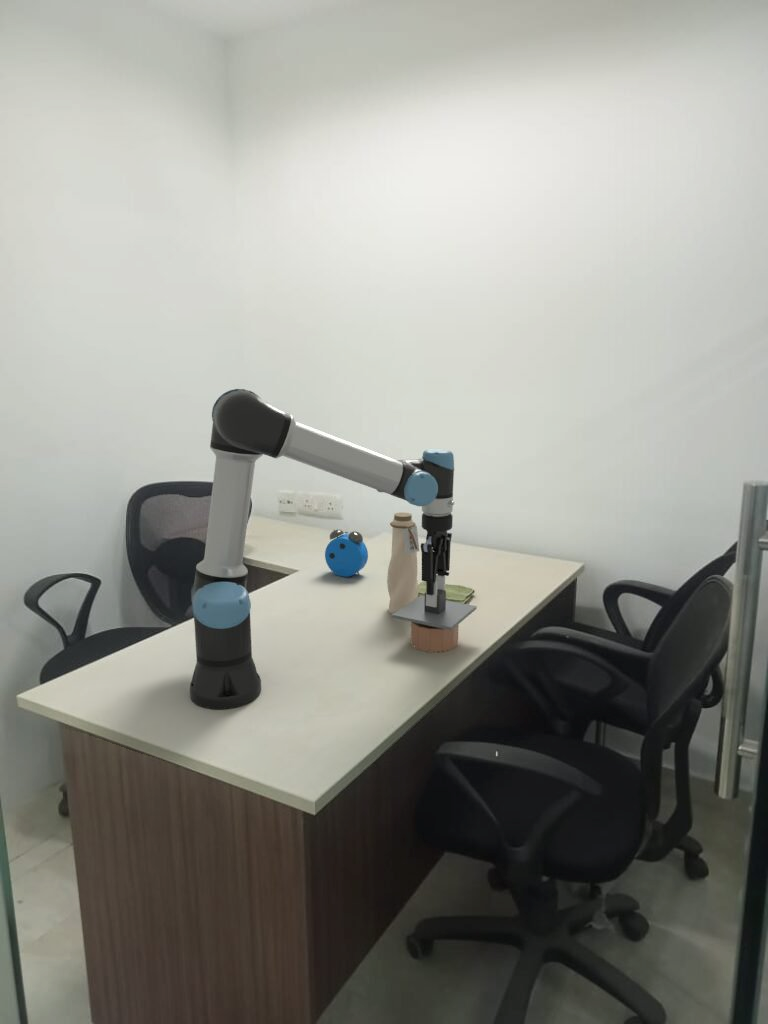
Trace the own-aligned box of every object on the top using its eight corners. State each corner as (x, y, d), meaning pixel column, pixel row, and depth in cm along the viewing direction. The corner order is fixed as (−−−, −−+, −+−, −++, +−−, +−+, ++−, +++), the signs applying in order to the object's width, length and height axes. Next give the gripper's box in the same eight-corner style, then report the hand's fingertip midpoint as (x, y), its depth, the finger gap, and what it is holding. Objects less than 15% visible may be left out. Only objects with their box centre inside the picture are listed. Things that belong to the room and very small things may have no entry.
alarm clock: (368, 574, 237) (368, 530, 233) (360, 580, 231) (360, 535, 228) (332, 569, 241) (332, 526, 238) (324, 575, 236) (323, 530, 232)
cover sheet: (451, 630, 172) (451, 607, 170) (392, 617, 179) (392, 595, 178) (476, 609, 185) (477, 587, 184) (420, 598, 193) (420, 577, 191)
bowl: (445, 655, 176) (446, 632, 175) (403, 645, 182) (403, 623, 180) (464, 638, 186) (465, 616, 185) (423, 629, 192) (423, 608, 190)
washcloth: (463, 609, 208) (464, 599, 207) (406, 601, 214) (406, 591, 213) (475, 595, 219) (476, 585, 219) (421, 587, 226) (421, 578, 225)
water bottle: (427, 610, 205) (429, 515, 199) (406, 619, 199) (408, 520, 192) (400, 601, 212) (402, 509, 206) (379, 609, 206) (380, 514, 199)
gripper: (436, 522, 167) (434, 616, 172) (464, 507, 182) (462, 595, 187) (407, 518, 171) (406, 611, 176) (437, 504, 185) (436, 590, 191)
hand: (435, 602), depth 182 cm, fingers closed on cover sheet, 4 cm apart
